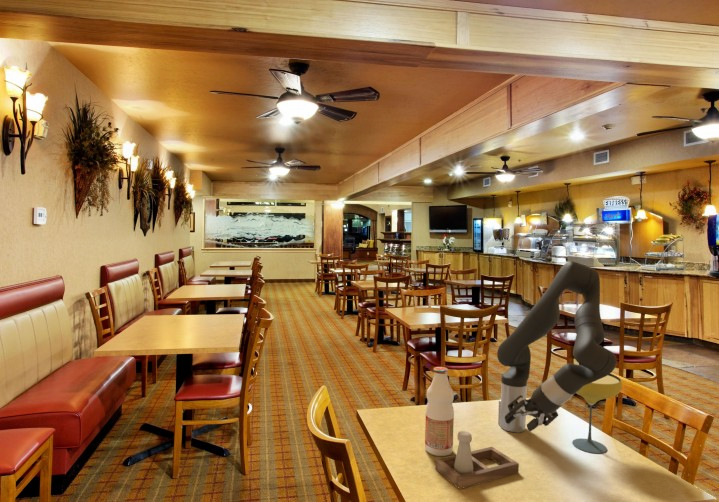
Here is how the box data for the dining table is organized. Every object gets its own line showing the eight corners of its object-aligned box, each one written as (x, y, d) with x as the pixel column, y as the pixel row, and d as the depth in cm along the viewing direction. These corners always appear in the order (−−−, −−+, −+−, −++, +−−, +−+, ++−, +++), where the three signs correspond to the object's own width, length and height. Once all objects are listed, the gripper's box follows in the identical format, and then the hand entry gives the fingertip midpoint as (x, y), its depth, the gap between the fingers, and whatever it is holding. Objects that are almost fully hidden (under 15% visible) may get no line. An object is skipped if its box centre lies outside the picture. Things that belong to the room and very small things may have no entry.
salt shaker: (473, 481, 133) (474, 438, 132) (453, 478, 134) (455, 435, 133) (472, 471, 138) (474, 429, 138) (453, 468, 140) (455, 427, 139)
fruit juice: (433, 458, 146) (435, 374, 145) (419, 445, 154) (421, 365, 154) (458, 454, 149) (460, 371, 148) (443, 442, 158) (445, 363, 157)
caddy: (435, 469, 139) (435, 459, 139) (491, 455, 149) (491, 446, 149) (459, 489, 128) (459, 478, 128) (518, 473, 138) (518, 463, 138)
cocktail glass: (549, 439, 162) (552, 370, 161) (586, 431, 169) (589, 366, 168) (592, 462, 145) (595, 387, 144) (631, 453, 152) (634, 381, 151)
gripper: (566, 389, 133) (531, 420, 141) (529, 375, 129) (495, 407, 137) (577, 411, 126) (539, 441, 134) (538, 397, 123) (502, 429, 130)
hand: (517, 424), depth 135 cm, fingers open, 8 cm apart
